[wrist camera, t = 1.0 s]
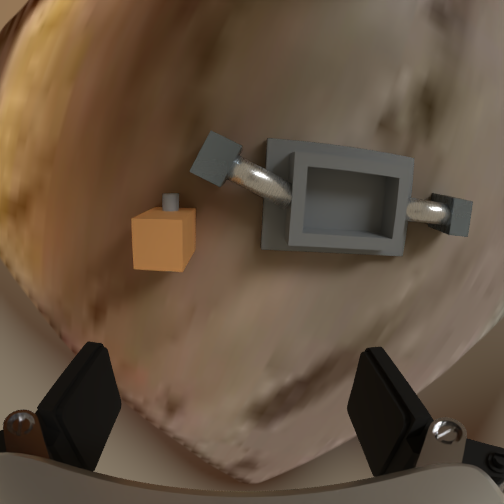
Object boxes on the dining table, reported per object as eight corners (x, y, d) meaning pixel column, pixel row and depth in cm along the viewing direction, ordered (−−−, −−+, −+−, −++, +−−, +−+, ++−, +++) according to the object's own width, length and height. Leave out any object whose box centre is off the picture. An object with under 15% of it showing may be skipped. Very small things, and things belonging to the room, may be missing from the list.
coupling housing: (267, 139, 29) (270, 134, 25) (408, 158, 29) (428, 158, 25) (260, 246, 32) (262, 258, 28) (397, 253, 32) (415, 264, 28)
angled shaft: (295, 177, 30) (303, 179, 26) (276, 211, 31) (281, 219, 26) (215, 135, 29) (210, 130, 24) (197, 170, 29) (189, 171, 25)
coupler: (155, 262, 32) (135, 286, 25) (155, 191, 30) (131, 199, 23) (195, 264, 32) (183, 289, 25) (196, 192, 30) (182, 199, 23)
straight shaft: (386, 222, 31) (405, 230, 27) (390, 186, 30) (410, 190, 26) (445, 228, 32) (467, 236, 27) (450, 196, 31) (472, 201, 26)
